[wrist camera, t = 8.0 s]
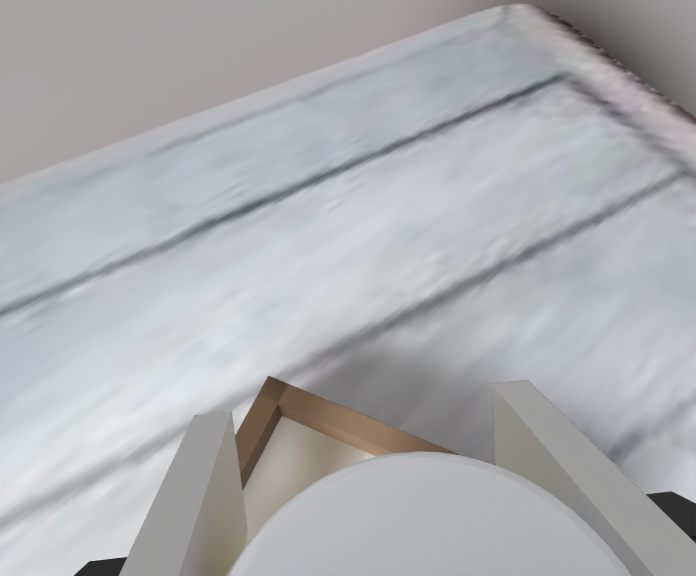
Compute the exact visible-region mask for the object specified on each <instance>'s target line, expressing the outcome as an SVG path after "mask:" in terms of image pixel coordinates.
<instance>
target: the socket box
mask: <svg viewBox="0 0 696 576" xmlns="http://www.w3.org/2000/svg"><path fill="white" fill-rule="evenodd" d="M235 440H236V447H237V454H238V462H239V469H240V476H241V484H242V491H243V498H244V506H245V513H246V520H247V527H248V533H247V538H246V544H245V546H246V545H247V544H248V542H249V541H250V540H251V539H252V537H253V536H254V535H255V534H256V532H257V531H258V530H259V529H260V528H261V527H262V525H263V524H264V523H265V522H266V521H267V520H268V519H269V518H270V517H271V516H272V515H273V514H274V513H275V512H276V511H277V510H278V509H280V508H281V507H282V506H283V505H284V504H285V503H287V502H288V501H289V500H291V499H292V498H293V497H295V496H296V495H297V494H299V493H300V492H301V491H303V490H304V489H306V488H307V487H308V486H310V485H311V484H312V483H314V482H315V481H317V480H319V479H321V478H323V477H324V476H326V475H328V474H330V473H332V472H334V471H337V470H339V469H341V468H343V467H345V466H348V465H351V464H353V463H356V462H359V461H362V460H366V459H370V458H374V457H378V456H383V455H388V454H394V453H407V452H419V451H421V452H441V453H448V454H454V455H459V454H456V453H454V452H452V451H449V450H447V449H444V448H442V447H439V446H437V445H435V444H432V443H430V442H427V441H425V440H423V439H420V438H418V437H415V436H413V435H410V434H408V433H406V432H403V431H401V430H398V429H396V428H394V427H391V426H389V425H386V424H384V423H381V422H379V421H377V420H374V419H372V418H369V417H367V416H365V415H362V414H360V413H357V412H355V411H352V410H350V409H348V408H345V407H343V406H340V405H338V404H336V403H333V402H331V401H328V400H326V399H323V398H321V397H319V396H316V395H314V394H311V393H309V392H307V391H304V390H302V389H299V388H297V387H294V386H292V385H290V384H287V383H285V382H282V381H280V380H278V379H275V378H273V377H270V376H268V378H267V380H266V381H265V383H264V385H263V387H262V389H261V390H260V392H259V394H258V396H257V398H256V399H255V401H254V403H253V405H252V407H251V408H250V410H249V412H248V414H247V416H246V417H245V419H244V421H243V423H242V425H241V426H240V428H239V430H238V432H237V434H236V435H235Z"/></svg>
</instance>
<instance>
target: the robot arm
mask: <svg viewBox="0 0 696 576" xmlns="http://www.w3.org/2000/svg"><path fill="white" fill-rule="evenodd" d="M492 389H493V417H494V444H495V466H498V467H501V468H504V469H507V470H509V471H511V472H513V473H515V474H518V475H520V476H522V477H524V478H526V479H528V480H529V481H531V482H533V483H535V484H536V485H538V486H540V487H542V488H543V489H545V490H546V491H548V492H549V493H551V494H552V495H554V496H555V497H556V498H558V499H559V500H560V501H562V502H563V503H564V504H566V505H567V506H568V507H570V508H571V509H572V510H573V511H574V512H575V513H577V514H578V515H579V516H580V517H581V518H582V519H583V520H584V521H586V522H587V524H588V525H589V526H590V527H591V528H592V529H593V530H594V531H595V532H596V533H597V534H598V535H599V536H600V537H601V538H602V539H603V540H604V541H605V542H606V543H607V545H608V546H609V547H610V548H611V549H612V550H613V552H614V553H615V554H616V555H617V557H618V558H619V559H620V561H621V562H622V563H623V564H624V566H625V567H626V569H627V570H628V571H629V573H630V574H631V575H632V576H696V503H694V502H692V501H690V500H688V499H686V498H684V497H682V496H680V495H678V494H676V493H674V492H672V491H671V492H663V493H654V494H645V493H643V492H642V491H641V490H640V489H639V488H638V487H637V486H636V485H635V484H634V483H633V482H632V481H631V480H630V479H629V478H628V477H627V476H626V475H625V474H624V473H623V472H622V471H621V470H620V469H619V468H618V467H617V466H616V465H615V464H614V463H613V462H612V461H611V460H610V459H609V458H608V457H607V456H606V455H605V454H603V453H602V452H601V451H600V450H599V449H598V448H597V447H596V446H595V445H594V444H593V443H592V442H591V441H590V440H589V439H588V438H587V437H586V436H585V435H584V434H583V433H582V432H581V431H580V430H579V429H578V428H577V427H576V426H575V425H574V424H573V423H572V422H571V421H570V420H569V419H568V418H567V417H566V416H565V415H564V414H562V413H561V412H560V411H559V410H558V409H557V408H556V407H555V406H554V405H553V404H552V403H551V402H550V401H549V400H548V399H547V398H546V397H545V396H544V395H543V394H542V393H541V392H540V391H539V390H538V389H537V388H536V387H535V386H534V385H533V384H532V383H531V382H530V381H529V380H523V381H513V382H504V383H494V384H492ZM247 533H248V527H247V520H246V513H245V506H244V498H243V491H242V484H241V476H240V469H239V462H238V454H237V447H236V440H235V433H234V425H233V418H232V411H231V412H221V413H212V414H202V415H194V417H193V419H192V421H191V423H190V425H189V427H188V430H187V432H186V434H185V436H184V438H183V440H182V442H181V444H180V447H179V449H178V451H177V453H176V455H175V457H174V459H173V461H172V464H171V466H170V468H169V470H168V472H167V474H166V476H165V478H164V481H163V483H162V485H161V487H160V489H159V491H158V493H157V495H156V498H155V500H154V502H153V504H152V506H151V508H150V510H149V512H148V515H147V517H146V519H145V521H144V523H143V525H142V527H141V529H140V532H139V534H138V536H137V538H136V540H135V542H134V544H133V546H132V549H131V551H130V553H129V555H128V557H124V558H115V559H107V560H98V561H90V562H88V563H87V564H86V565H85V566H84V567H83V568H82V569H81V570H79V571H78V572H77V573H76V574H75V575H74V576H226V574H227V573H228V571H229V569H230V568H231V566H232V565H233V563H234V562H235V560H236V559H237V557H238V556H239V554H240V553H241V551H242V550H243V549H244V547H245V544H246V538H247Z"/></svg>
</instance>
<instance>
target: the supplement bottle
mask: <svg viewBox="0 0 696 576" xmlns="http://www.w3.org/2000/svg"><path fill="white" fill-rule="evenodd" d="M226 576H632V575H631V574H630V573H629V571H628V570H627V569H626V567H625V566H624V564H623V563H622V562H621V561H620V559H619V558H618V557H617V555H616V554H615V553H614V552H613V550H612V549H611V548H610V547H609V546H608V545H607V543H606V542H605V541H604V540H603V539H602V538H601V537H600V536H599V535H598V534H597V533H596V532H595V531H594V530H593V529H592V528H591V527H590V526H589V525H588V524H587V522H586V521H584V520H583V519H582V518H581V517H580V516H579V515H578V514H577V513H575V512H574V511H573V510H572V509H571V508H570V507H568V506H567V505H566V504H564V503H563V502H562V501H560V500H559V499H558V498H556V497H555V496H554V495H552V494H551V493H549V492H548V491H546V490H545V489H543V488H542V487H540V486H538V485H536V484H535V483H533V482H531V481H529V480H528V479H526V478H524V477H522V476H520V475H518V474H515V473H513V472H511V471H509V470H507V469H504V468H501V467H498V466H495V465H493V464H490V463H487V462H484V461H481V460H478V459H474V458H470V457H466V456H461V455H454V454H448V453H441V452H421V451H419V452H407V453H394V454H388V455H383V456H378V457H374V458H370V459H366V460H362V461H359V462H356V463H353V464H351V465H348V466H345V467H343V468H341V469H339V470H337V471H334V472H332V473H330V474H328V475H326V476H324V477H323V478H321V479H319V480H317V481H315V482H314V483H312V484H311V485H310V486H308V487H307V488H306V489H304V490H303V491H301V492H300V493H299V494H297V495H296V496H295V497H293V498H292V499H291V500H289V501H288V502H287V503H285V504H284V505H283V506H282V507H281V508H280V509H278V510H277V511H276V512H275V513H274V514H273V515H272V516H271V517H270V518H269V519H268V520H267V521H266V522H265V523H264V524H263V525H262V527H261V528H260V529H259V530H258V531H257V532H256V534H255V535H254V536H253V537H252V539H251V540H250V541H249V542H248V544H247V545H246V546H245V547H244V549H243V550H242V551H241V553H240V554H239V556H238V557H237V559H236V560H235V562H234V563H233V565H232V566H231V568H230V569H229V571H228V573H227V574H226Z"/></svg>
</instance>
